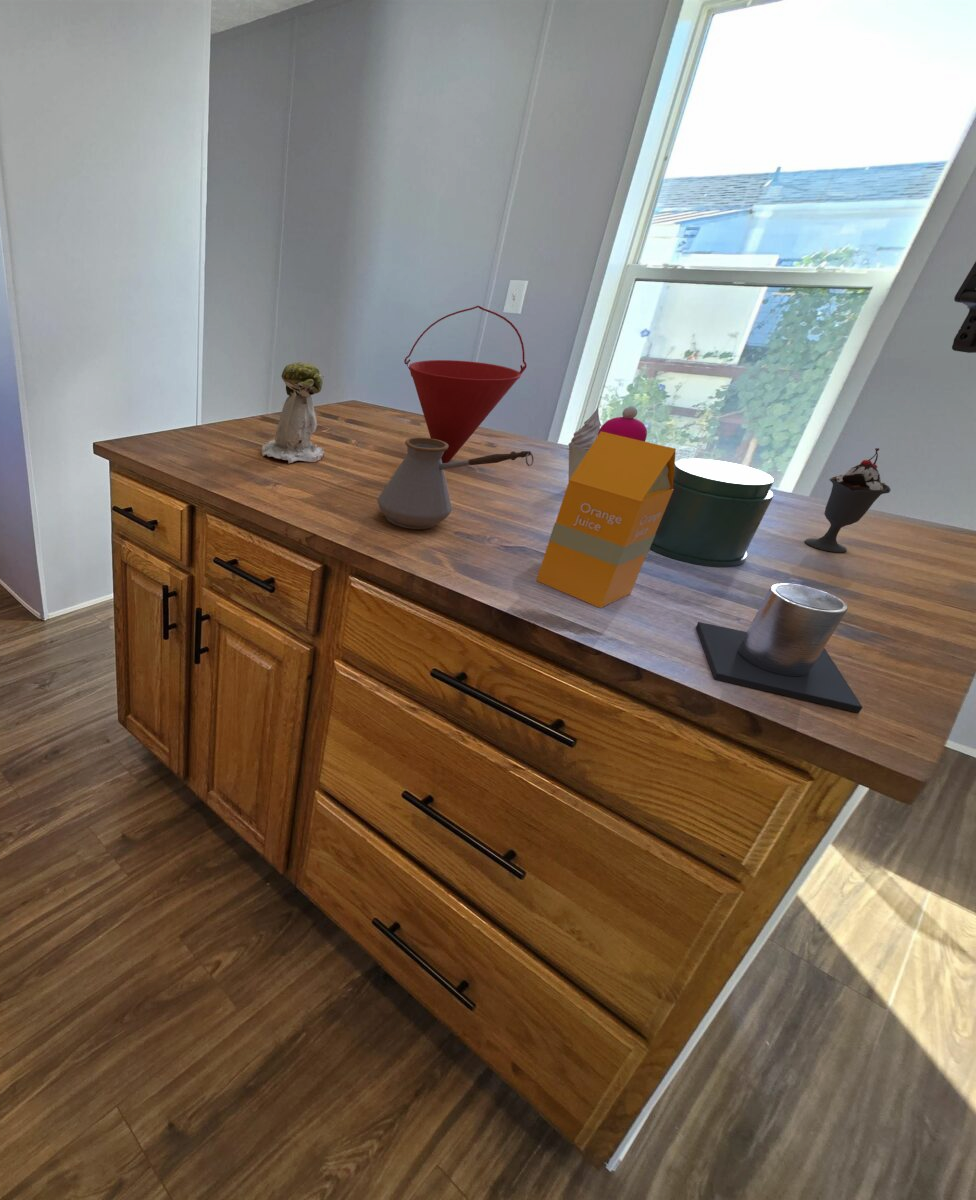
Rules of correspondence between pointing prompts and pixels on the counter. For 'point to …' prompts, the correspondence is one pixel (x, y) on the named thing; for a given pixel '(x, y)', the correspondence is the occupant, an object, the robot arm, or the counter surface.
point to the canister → (712, 512)
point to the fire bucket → (459, 393)
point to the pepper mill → (626, 425)
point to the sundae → (850, 501)
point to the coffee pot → (426, 484)
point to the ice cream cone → (583, 441)
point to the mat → (815, 686)
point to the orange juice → (608, 519)
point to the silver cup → (791, 629)
